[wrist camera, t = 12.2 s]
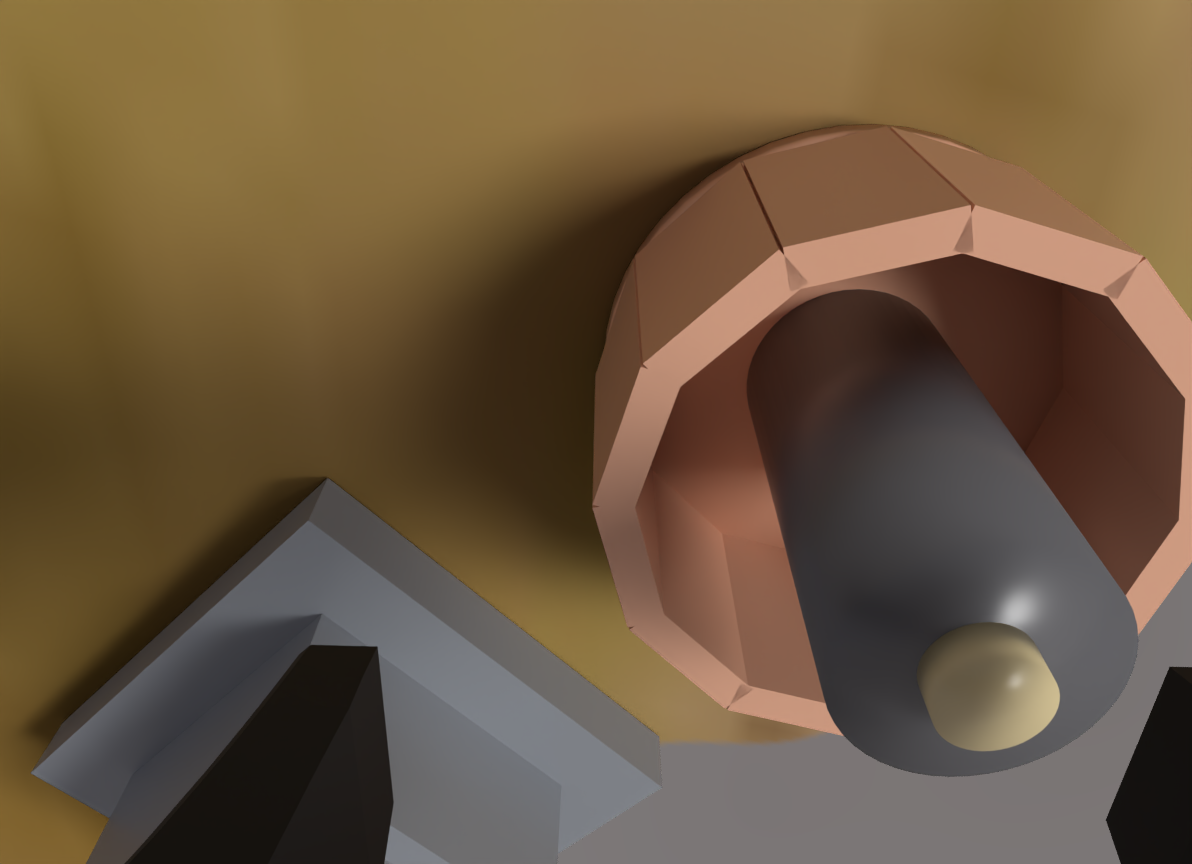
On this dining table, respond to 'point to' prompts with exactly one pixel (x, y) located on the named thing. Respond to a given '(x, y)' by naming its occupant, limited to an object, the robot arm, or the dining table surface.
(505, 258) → the dining table surface
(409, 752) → the checker housing
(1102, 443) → the cup
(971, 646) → the battery cell
